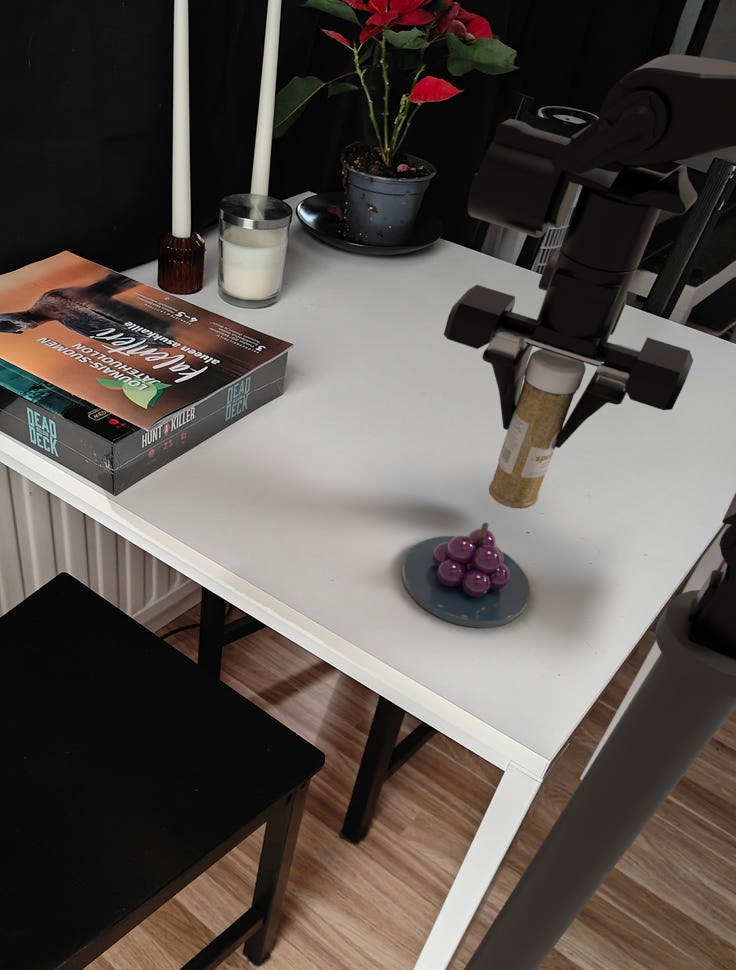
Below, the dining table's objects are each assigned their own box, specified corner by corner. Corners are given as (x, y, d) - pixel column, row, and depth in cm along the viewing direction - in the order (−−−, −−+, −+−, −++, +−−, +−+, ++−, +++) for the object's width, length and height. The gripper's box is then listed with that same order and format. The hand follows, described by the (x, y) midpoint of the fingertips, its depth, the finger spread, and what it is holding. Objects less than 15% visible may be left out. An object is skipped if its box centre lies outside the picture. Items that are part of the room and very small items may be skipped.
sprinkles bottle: (534, 515, 80) (586, 378, 71) (483, 503, 81) (528, 365, 71) (538, 488, 83) (588, 353, 74) (489, 476, 84) (533, 341, 75)
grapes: (541, 572, 80) (567, 513, 76) (506, 646, 73) (532, 586, 68) (427, 527, 83) (445, 467, 78) (383, 594, 76) (400, 532, 71)
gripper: (740, 257, 69) (656, 431, 80) (510, 193, 74) (461, 365, 85) (721, 308, 62) (632, 491, 73) (468, 233, 67) (420, 416, 78)
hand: (532, 436), depth 78 cm, fingers closed on sprinkles bottle, 4 cm apart
